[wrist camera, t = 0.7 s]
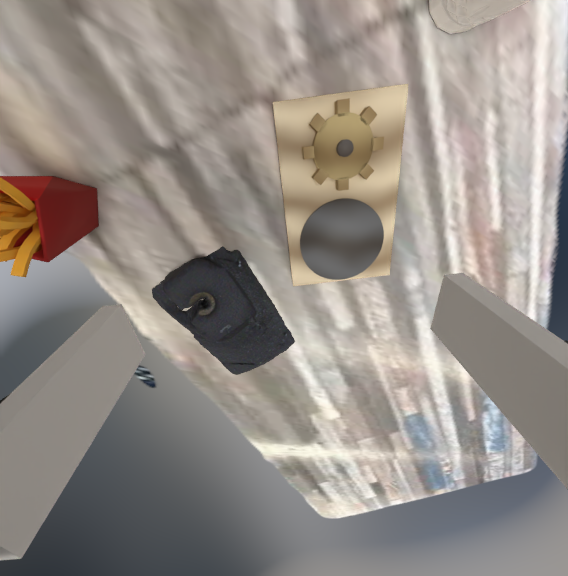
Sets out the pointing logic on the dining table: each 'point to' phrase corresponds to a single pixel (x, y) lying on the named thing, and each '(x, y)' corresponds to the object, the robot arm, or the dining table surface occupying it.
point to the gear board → (340, 181)
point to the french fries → (43, 218)
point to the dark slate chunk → (225, 310)
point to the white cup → (468, 12)
